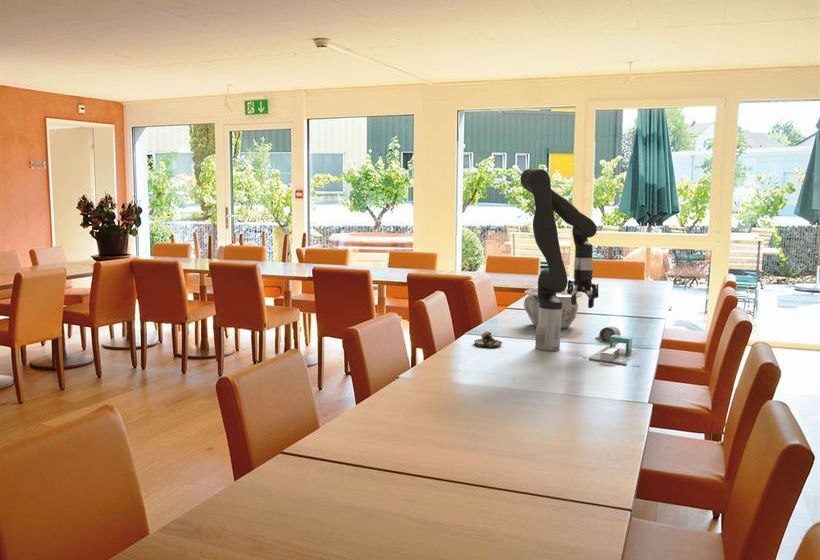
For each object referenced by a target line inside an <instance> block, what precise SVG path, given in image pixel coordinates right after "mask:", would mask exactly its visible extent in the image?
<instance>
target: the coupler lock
mask: <svg viewBox="0 0 820 560" xmlns="http://www.w3.org/2000/svg"><path fill="white" fill-rule="evenodd" d="M617 343H619V344H625V349H626V354H629V353H630V352H631V350H633V349H632V347H633V337H632V336H628V335H627V336H626V335H612V336H611V337H610V342H609V347H610V348H611V347H615V348H617V347H616V345H617Z"/></svg>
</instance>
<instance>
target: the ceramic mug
mask: <svg viewBox="0 0 820 560" xmlns="http://www.w3.org/2000/svg"><path fill="white" fill-rule="evenodd" d="M612 335H620V336H622V335H621V331H620V329H619V328H618V327H616V326H606V327H605V326H604V327H603V328H602V329H600V331H599V334H598V336H596V337H594V340H597V341H601V342H603V341H606V342H609V343H610V337H611V336H612Z"/></svg>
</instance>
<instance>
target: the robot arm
mask: <svg viewBox="0 0 820 560" xmlns="http://www.w3.org/2000/svg"><path fill="white" fill-rule="evenodd" d="M551 182H552V181H551V178H550V174H549V173H548V171H547V170H545V169H544V168H536V167H535V168H532V167H531V168H530V167H529V168H527V169H525V170H524V171H523V172H522V173H521V175H520V185H521V186H522V188H523V189H525V190H526V191H528V192H529V193H531V195H533V199H534V206H535V209H534V214H533V219H532V230H533V236H534V241H535V243H536V245H537V248H538V249H539V251H540V252H541V254H542V255H543V257H544V259H545V261H546V264H547V268H545V269H542V270H541V272H539V274H538V275H539V276H538V279H537V288H538V301H539V322H538V325H537V326H536V325H535V327H536V328H535V329H536V330H535V345H534V347H535V348H536V349H538V350H542V351H544V352H545V351H550V352H551V351H552V352H555V351H560V350H561V348H560V347H561V331H562V329H561V317H562V302H561V301H560V300H559V299H558V297H557V296H556V293H561V292H563V291H564V290H565V289H567V294H570V295H571V303H572V305H576V301H577V299H576V297H577V296H576V295H577V293H583V294H585V295H586V296H587V298H588V301H587V302H588V304H587V308H588V309H592V308H594V305H595V299H598V298H599V284H598V282H596V283H592V280H593V271H594V269H593V268H594V265H593V264H594V262H593V250H594V249H593V248H594V247H593V245H592V244H591V242H589V239H590V238H592V237H594V236H595V235H597V231H598V227H597V225H596V223H595V221H593V220H592V219H591V218H590V217H589V216H587V215H585V214H584V213H582V212H581V211H579V210H578V209H577V208H576V206H575V205H574V204H573V203H571V201H570V200H568V199H567V198H565V197H564V196H562V195H561V194H559V193H558V192H556V190H554V189H552V184H551ZM555 214H557V215H558V217H560V218H561V220H563V221H564V222H565V223H566V224H567V225H570V226H572V230H571V231H572V238H573V243H574V246H575V247H574V248H575V250H574V251H575V252H574V253H575V254H574V261H573V262H574V264H573V279H570V280H569V279H568V274H567V271H566V268H565V267H566V266H565V263H564V261H563V257H562V252H561V247H560V240H559V235H558V229H557V223H556V219H555V218H556V217H555ZM588 238H589V239H588ZM577 298H578V297H577Z"/></svg>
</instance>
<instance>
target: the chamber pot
mask: <svg viewBox="0 0 820 560" xmlns="http://www.w3.org/2000/svg"><path fill="white" fill-rule="evenodd" d="M524 294H526V295H527V296H526V297H525V298H524V300H523V301H524V302H523V308H524V311H525V312H526V314H527V316H528V318H529V319H530V322H531V323H532V324H533V325H534V326H535V327H536V326H537V325H538V322H539V301H538V287H535V288H529V289H526V290H524ZM582 295H583V294H582V292H578V293H577V295H576V296H577V297H576V305H572V303H571V295H570V294H567V288H566V289H565V290H564V291H563V292H561V293H556V296H557V297H558V299H559V300H560V301H561V302H562V317H561V330H563V329H567V328H568V327H570V326H571V325H572V323H573V322H574V321H575V319H576V318H577V314H578V312H579V303H578V301H577V299H578V298H579V297H582Z"/></svg>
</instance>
